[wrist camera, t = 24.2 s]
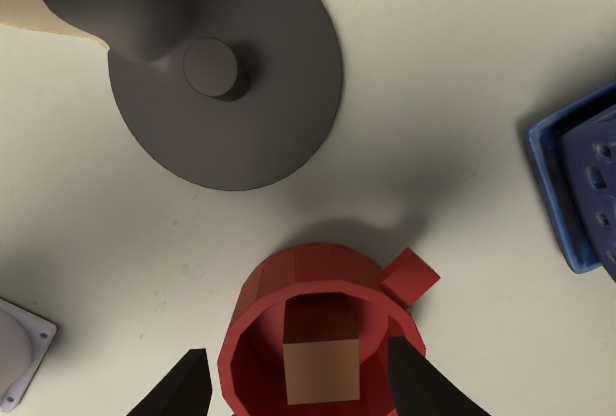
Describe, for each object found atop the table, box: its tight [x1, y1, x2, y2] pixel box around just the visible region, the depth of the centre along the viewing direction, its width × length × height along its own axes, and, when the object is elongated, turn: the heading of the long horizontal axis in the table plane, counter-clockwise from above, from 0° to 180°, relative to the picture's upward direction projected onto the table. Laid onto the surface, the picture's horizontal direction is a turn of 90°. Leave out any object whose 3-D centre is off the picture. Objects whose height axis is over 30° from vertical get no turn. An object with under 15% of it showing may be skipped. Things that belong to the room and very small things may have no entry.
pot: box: [217, 243, 440, 416], centre depth 21 cm, size 12×18×6 cm
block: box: [282, 293, 360, 405], centre depth 20 cm, size 4×4×5 cm
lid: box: [108, 0, 342, 191], centre depth 16 cm, size 13×13×5 cm
